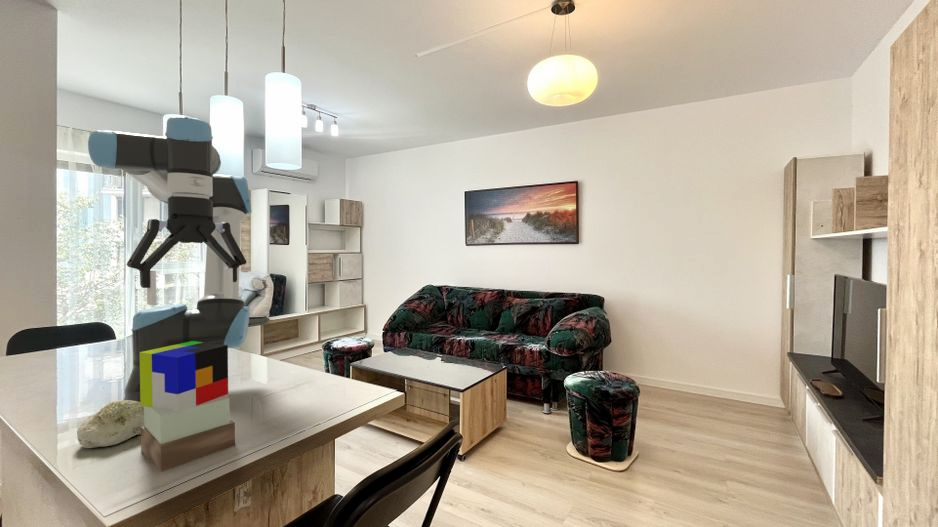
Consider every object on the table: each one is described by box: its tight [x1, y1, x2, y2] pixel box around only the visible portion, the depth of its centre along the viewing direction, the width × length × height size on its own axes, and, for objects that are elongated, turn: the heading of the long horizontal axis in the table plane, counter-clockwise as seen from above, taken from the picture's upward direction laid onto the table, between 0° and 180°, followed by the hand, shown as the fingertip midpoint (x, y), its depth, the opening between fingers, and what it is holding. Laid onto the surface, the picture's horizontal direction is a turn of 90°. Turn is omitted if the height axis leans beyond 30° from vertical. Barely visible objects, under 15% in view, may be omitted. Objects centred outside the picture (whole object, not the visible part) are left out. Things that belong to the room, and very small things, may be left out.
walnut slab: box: [140, 419, 236, 472], centre depth 78 cm, size 12×12×5 cm
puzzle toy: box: [140, 341, 229, 413], centre depth 77 cm, size 10×10×10 cm
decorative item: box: [76, 399, 144, 449], centre depth 82 cm, size 12×9×10 cm
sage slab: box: [144, 395, 231, 444], centre depth 77 cm, size 11×11×5 cm
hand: (192, 301), depth 82 cm, fingers open, 13 cm apart
